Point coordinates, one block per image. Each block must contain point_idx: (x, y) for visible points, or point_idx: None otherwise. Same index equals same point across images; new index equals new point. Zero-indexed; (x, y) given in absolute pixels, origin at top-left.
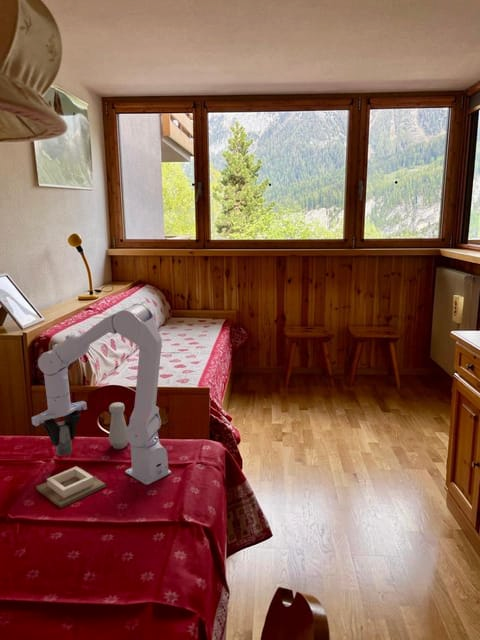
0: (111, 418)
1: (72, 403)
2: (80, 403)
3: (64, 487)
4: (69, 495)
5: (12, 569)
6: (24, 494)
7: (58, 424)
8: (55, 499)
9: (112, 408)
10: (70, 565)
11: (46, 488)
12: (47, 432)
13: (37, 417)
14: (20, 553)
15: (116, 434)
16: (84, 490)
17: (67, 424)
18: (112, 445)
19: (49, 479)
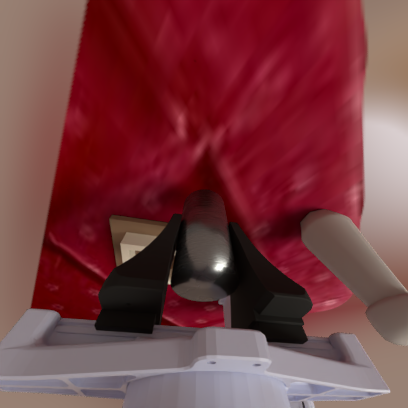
0: (364, 276)
1: (333, 387)
2: (342, 393)
3: None
4: None
5: (40, 296)
6: (87, 210)
7: (196, 278)
8: (118, 263)
9: (384, 332)
10: (89, 315)
11: (121, 235)
12: (154, 239)
13: (26, 384)
14: (51, 288)
15: (317, 256)
16: None
17: (216, 297)
18: (304, 222)
19: (122, 248)
